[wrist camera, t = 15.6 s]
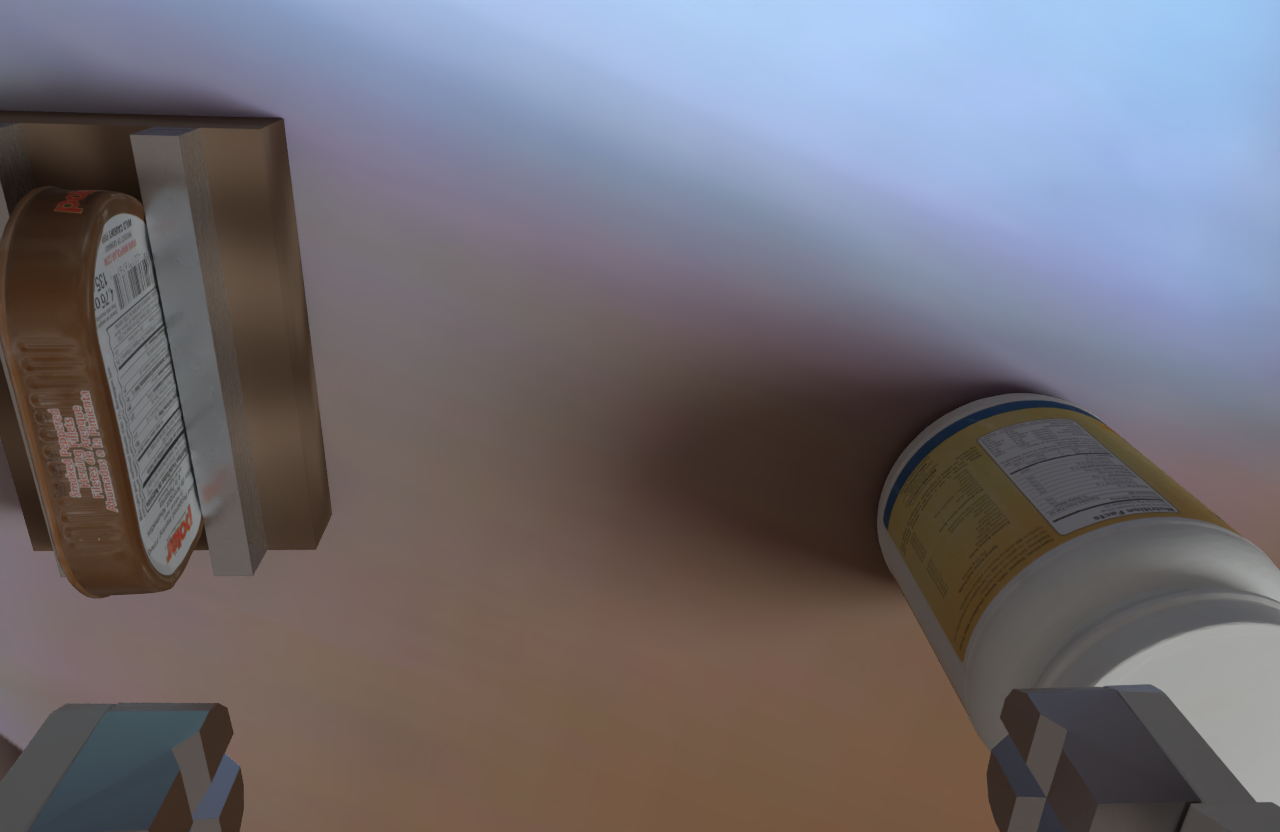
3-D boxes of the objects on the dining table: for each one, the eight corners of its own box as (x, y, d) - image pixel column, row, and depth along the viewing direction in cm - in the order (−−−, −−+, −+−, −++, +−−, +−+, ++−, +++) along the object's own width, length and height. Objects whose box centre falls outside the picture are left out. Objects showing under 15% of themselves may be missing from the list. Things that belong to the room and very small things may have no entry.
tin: (85, 165, 34) (-59, 218, 26) (175, 167, 34) (58, 221, 26) (159, 520, 40) (61, 646, 32) (234, 520, 40) (154, 646, 33)
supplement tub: (1124, 555, 48) (1383, 825, 32) (895, 624, 49) (1041, 917, 33) (1099, 347, 43) (1393, 550, 27) (844, 428, 44) (990, 669, 28)
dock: (-39, 109, 35) (-129, 127, 31) (283, 118, 36) (241, 137, 32) (68, 515, 43) (8, 577, 38) (331, 514, 44) (303, 575, 39)
